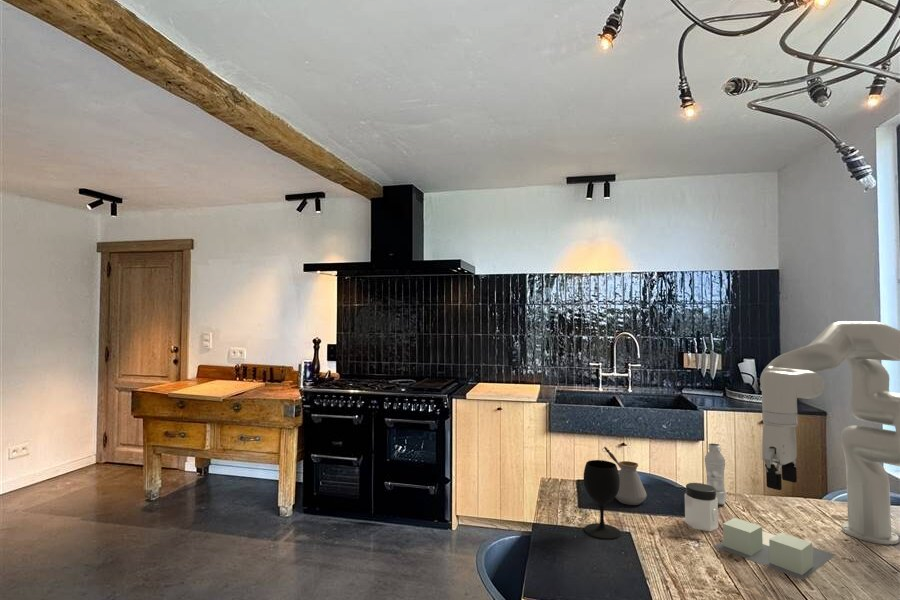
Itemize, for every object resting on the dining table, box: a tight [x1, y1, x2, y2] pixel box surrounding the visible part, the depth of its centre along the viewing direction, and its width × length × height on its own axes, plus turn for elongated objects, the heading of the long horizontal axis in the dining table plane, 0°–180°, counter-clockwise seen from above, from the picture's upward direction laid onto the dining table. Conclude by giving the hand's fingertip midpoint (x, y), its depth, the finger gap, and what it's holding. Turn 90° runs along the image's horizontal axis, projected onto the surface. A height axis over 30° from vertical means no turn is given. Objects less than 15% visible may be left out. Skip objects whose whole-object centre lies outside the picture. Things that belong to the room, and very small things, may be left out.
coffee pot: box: [601, 446, 648, 506], centre depth 170 cm, size 21×12×15 cm, turn 13°
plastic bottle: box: [704, 443, 728, 506], centre depth 163 cm, size 6×7×20 cm
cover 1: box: [722, 517, 763, 556], centre depth 130 cm, size 7×7×6 cm
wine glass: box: [583, 459, 621, 540], centre depth 141 cm, size 10×10×20 cm
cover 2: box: [769, 532, 813, 575], centre depth 120 cm, size 7×7×6 cm
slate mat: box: [713, 530, 837, 581], centre depth 128 cm, size 22×21×1 cm
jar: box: [684, 482, 719, 532], centre depth 144 cm, size 9×8×12 cm
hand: (782, 484), depth 122 cm, fingers open, 9 cm apart
